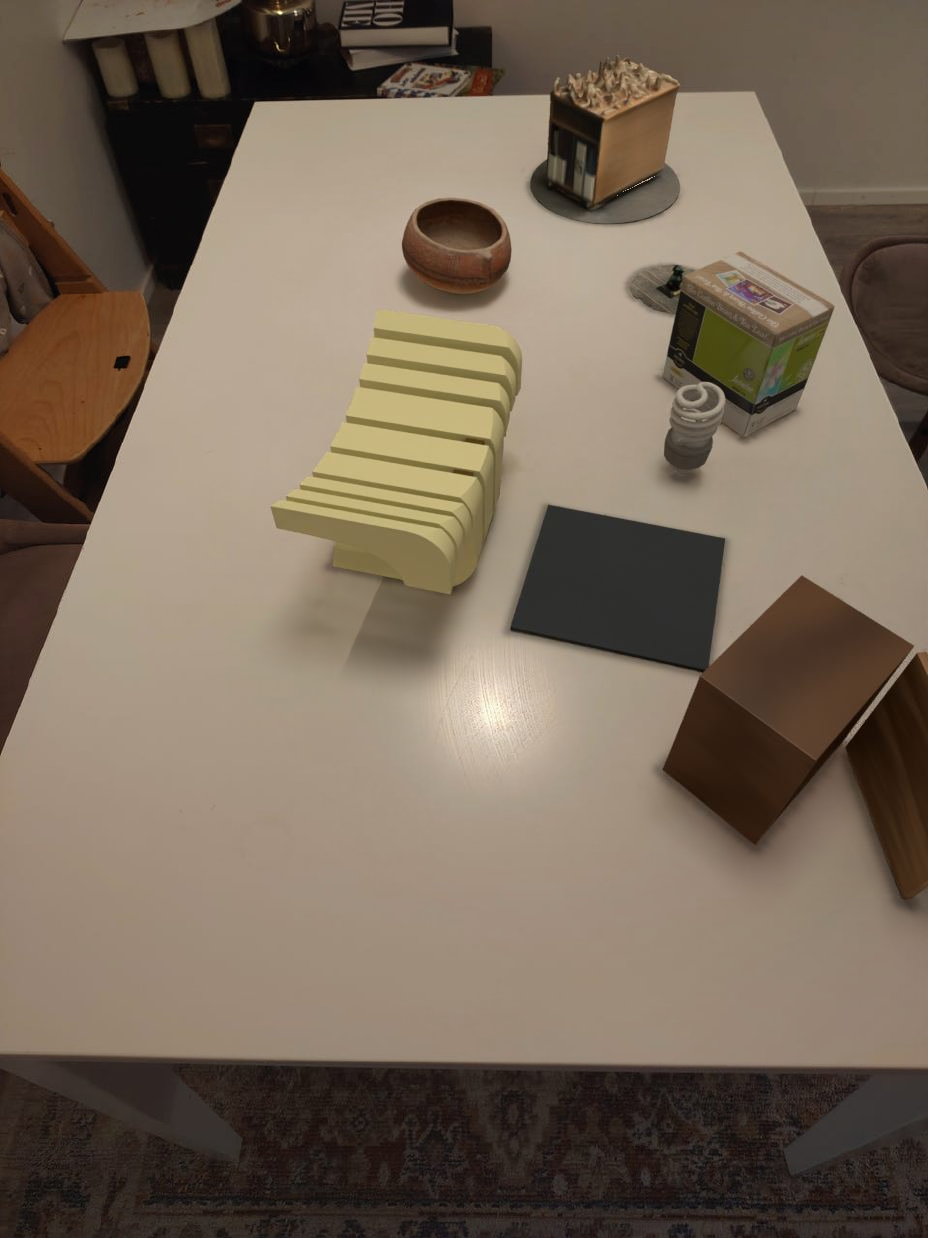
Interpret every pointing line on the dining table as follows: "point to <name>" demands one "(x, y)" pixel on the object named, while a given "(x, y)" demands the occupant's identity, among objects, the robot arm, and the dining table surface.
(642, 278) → the sculpture
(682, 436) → the light bulb
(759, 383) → the tea box
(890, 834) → the cupboard door
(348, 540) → the slatted curved stool
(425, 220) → the bowl
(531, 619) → the mat
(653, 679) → the dining table surface
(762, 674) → the cupboard
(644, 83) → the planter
